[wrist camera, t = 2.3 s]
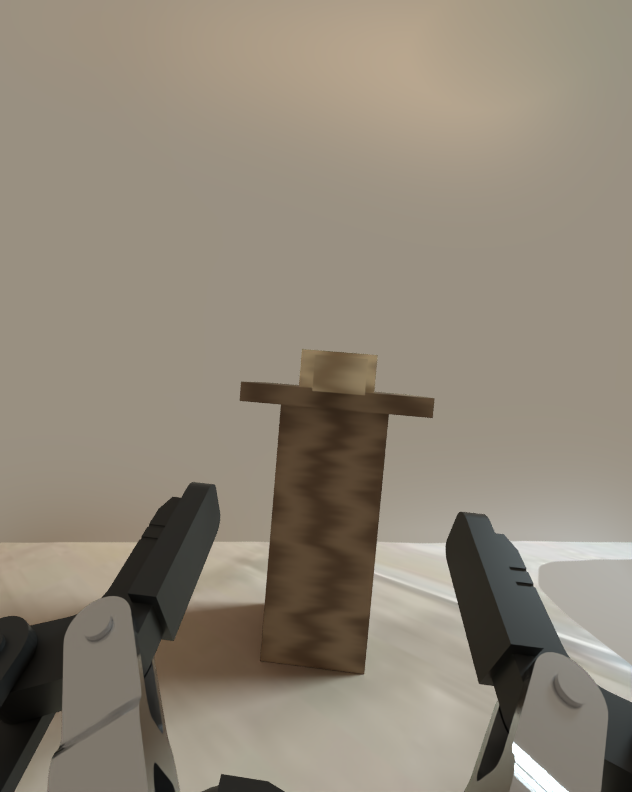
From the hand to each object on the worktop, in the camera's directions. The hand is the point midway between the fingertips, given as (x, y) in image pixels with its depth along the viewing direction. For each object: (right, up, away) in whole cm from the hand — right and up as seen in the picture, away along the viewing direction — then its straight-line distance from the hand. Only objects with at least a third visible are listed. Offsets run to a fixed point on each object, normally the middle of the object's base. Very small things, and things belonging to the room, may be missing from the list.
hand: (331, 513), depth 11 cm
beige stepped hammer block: (+1, +4, +21) cm, 22 cm away
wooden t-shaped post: (-1, -27, +30) cm, 41 cm away
